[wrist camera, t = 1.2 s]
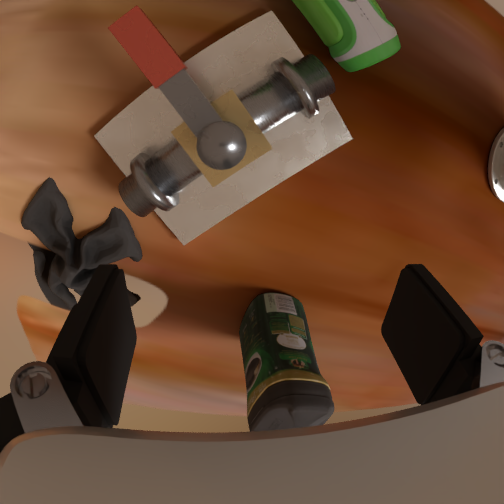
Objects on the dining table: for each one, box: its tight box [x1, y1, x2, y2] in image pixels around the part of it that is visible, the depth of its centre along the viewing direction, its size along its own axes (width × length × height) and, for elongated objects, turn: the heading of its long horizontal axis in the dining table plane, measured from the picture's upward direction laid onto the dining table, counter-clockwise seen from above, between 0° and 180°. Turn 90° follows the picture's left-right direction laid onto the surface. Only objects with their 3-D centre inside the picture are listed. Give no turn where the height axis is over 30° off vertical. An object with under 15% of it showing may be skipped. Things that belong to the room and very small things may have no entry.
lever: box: [108, 6, 247, 170], centre depth 21 cm, size 14×4×3 cm, turn 33°
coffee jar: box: [239, 292, 334, 432], centre depth 36 cm, size 10×8×19 cm
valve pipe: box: [94, 10, 352, 245], centre depth 28 cm, size 23×16×7 cm
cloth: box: [21, 178, 142, 311], centre depth 35 cm, size 22×19×6 cm
